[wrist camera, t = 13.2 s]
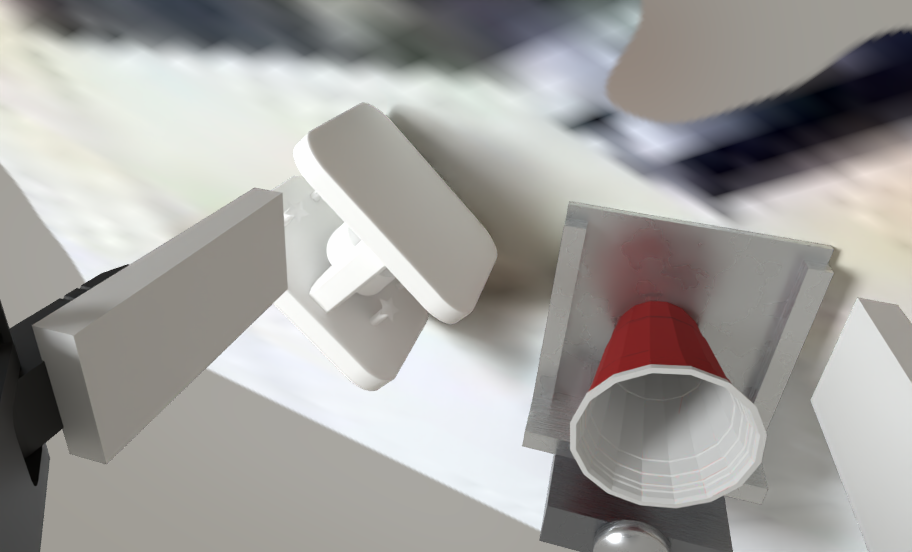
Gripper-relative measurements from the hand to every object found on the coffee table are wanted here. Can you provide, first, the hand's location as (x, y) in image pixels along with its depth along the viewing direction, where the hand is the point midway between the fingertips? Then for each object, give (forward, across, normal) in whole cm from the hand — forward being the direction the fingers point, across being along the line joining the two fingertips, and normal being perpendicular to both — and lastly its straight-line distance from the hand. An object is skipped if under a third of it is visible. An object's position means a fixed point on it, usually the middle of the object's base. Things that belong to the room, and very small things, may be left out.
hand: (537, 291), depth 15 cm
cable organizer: (+29, -13, -12) cm, 34 cm away
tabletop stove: (+29, +8, -19) cm, 36 cm away
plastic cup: (+28, +8, -17) cm, 34 cm away
